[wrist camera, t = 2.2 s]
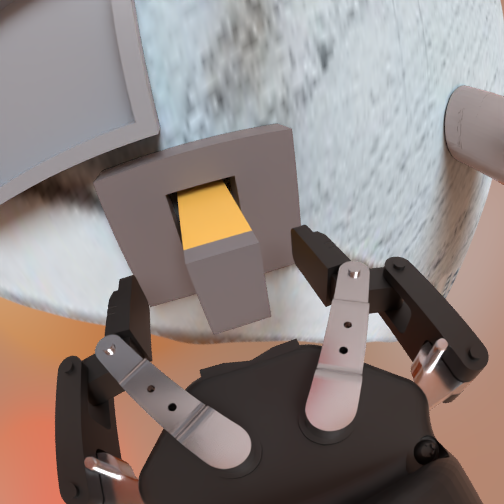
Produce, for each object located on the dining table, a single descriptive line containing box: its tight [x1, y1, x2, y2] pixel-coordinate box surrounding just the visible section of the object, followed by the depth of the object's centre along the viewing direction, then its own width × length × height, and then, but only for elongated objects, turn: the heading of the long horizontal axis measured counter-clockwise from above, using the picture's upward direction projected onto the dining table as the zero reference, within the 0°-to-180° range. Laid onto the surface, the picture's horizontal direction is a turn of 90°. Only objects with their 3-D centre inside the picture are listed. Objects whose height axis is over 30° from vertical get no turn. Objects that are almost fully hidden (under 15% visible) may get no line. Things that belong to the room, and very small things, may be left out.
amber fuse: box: [177, 179, 271, 334], centre depth 16 cm, size 3×4×9 cm, turn 9°
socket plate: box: [93, 124, 301, 307], centre depth 18 cm, size 12×10×2 cm
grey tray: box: [0, 0, 160, 205], centre depth 9 cm, size 15×15×3 cm
